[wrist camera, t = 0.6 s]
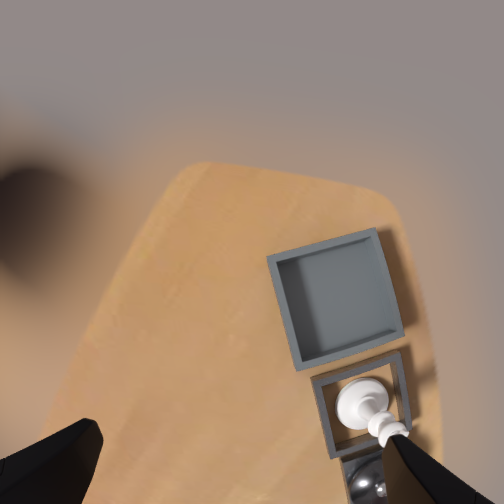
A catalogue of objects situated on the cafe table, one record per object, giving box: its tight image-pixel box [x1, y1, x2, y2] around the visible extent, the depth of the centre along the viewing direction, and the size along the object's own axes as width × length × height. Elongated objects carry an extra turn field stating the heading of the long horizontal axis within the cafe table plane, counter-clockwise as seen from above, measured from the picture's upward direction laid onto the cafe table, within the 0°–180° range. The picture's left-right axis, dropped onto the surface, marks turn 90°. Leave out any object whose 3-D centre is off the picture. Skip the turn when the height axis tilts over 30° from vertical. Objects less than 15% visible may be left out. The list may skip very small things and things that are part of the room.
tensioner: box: [310, 350, 413, 504], centre depth 21 cm, size 15×8×4 cm, turn 14°
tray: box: [267, 228, 405, 372], centre depth 24 cm, size 9×9×2 cm
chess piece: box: [335, 378, 409, 447], centre depth 19 cm, size 5×5×10 cm
